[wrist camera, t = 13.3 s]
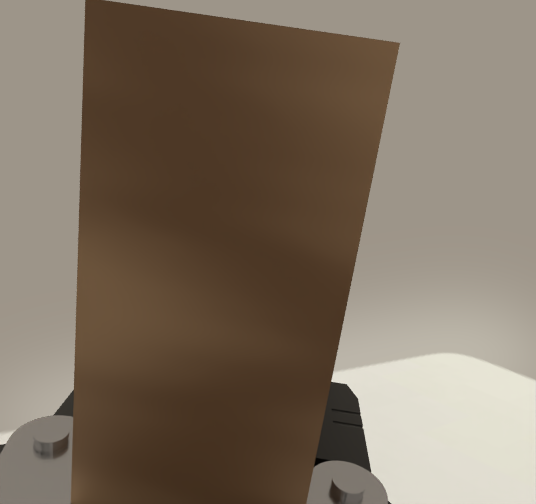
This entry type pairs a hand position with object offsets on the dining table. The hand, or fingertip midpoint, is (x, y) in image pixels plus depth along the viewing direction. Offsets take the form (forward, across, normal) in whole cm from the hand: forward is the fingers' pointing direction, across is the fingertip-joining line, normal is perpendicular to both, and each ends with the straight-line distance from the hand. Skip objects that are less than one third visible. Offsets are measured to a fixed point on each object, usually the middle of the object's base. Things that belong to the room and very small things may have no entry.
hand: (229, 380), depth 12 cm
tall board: (-3, 0, +10) cm, 10 cm away
